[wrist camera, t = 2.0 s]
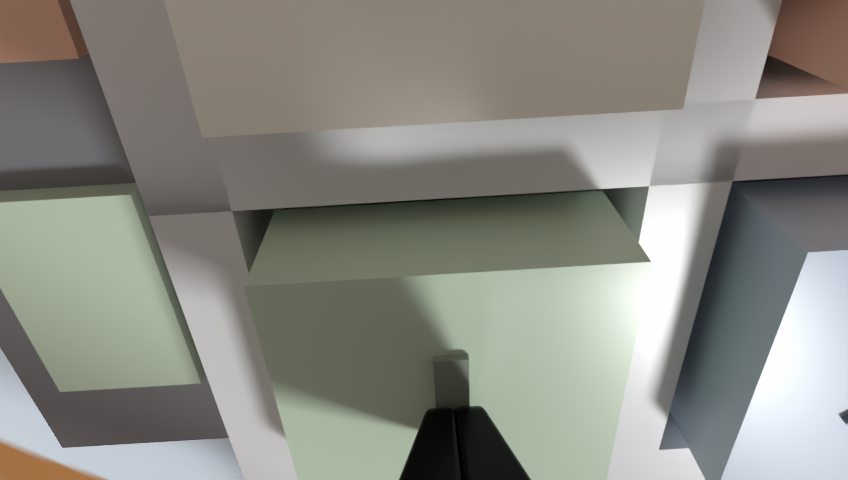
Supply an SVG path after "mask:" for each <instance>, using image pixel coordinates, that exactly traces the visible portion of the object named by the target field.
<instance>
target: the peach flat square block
mask: <svg viewBox="0 0 848 480" xmlns="http://www.w3.org/2000/svg"><path fill="white" fill-rule="evenodd" d="M767 55H769V56H771V57H774V58H776V59H778V60H781V61H783V62H785V63H788V64H790V65H792V66H795V67H797V68H799V69H801V70H804V71H806V72H808V73H811V74H813V75H815V76H818V77H820V78H822V79H825V80H827V81H829V82H832V83H834V84H836V85H839V86H841V87H843V88H846V89H848V0H782V3H781V7H780V10H779V14H778V18H777V21H776V25H775V29H774V32H773V36H772V40H771V43H770V47H769V50H768V54H767Z"/></svg>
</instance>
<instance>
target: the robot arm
mask: <svg viewBox="0 0 848 480" xmlns="http://www.w3.org/2000/svg"><path fill="white" fill-rule="evenodd" d="M399 480H531V479H530V477H529V475H528V474H527V472H526V471H525V469H524V468H523V466H522V465H521V463H520V462H519V460H518V459H517V457H516V456H515V454H514V453H513V451H512V450H511V448H510V447H509V445H508V444H507V442H506V440H505V439H504V437H503V436H502V434H501V433H500V431H499V430H498V428H497V427H496V425H495V424H494V422H493V421H492V419H491V418H490V416H489V415H488V413H487V412H486V410H485V409H484V408H483V407H481V406H464V407H458V408H457V409H456V410H455V411H454V410H453V409H452V408H450V407H447V408H431V409H428V410H427V411H426V413H425V415H424V417H423V419H422V422H421V425H420V427H419V430H418V432H417V435H416V437H415V440H414V442H413V445H412V447H411V450H410V453H409V455H408V458H407V460H406V463H405V465H404V468H403V470H402V473H401V475H400V478H399Z"/></svg>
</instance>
